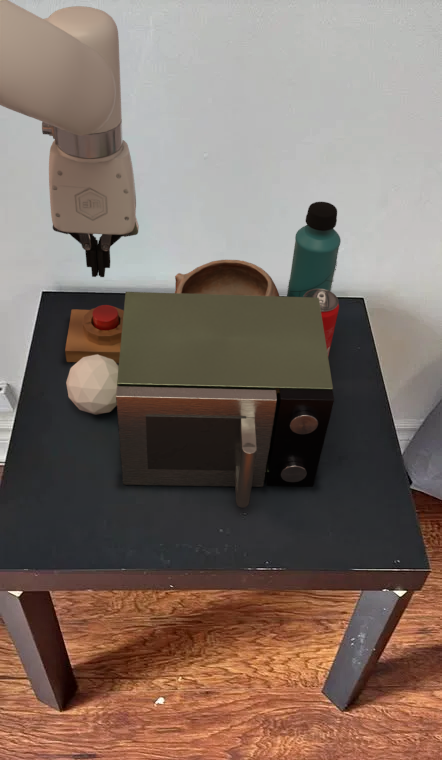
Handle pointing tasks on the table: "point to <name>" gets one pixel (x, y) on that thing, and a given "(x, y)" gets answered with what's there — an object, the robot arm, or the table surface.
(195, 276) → the bowl
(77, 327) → the button block
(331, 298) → the beverage can
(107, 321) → the release button
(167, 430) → the microwave door
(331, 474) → the table surface
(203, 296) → the microwave
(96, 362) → the geometric ball
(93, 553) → the table surface
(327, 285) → the beverage bottle
